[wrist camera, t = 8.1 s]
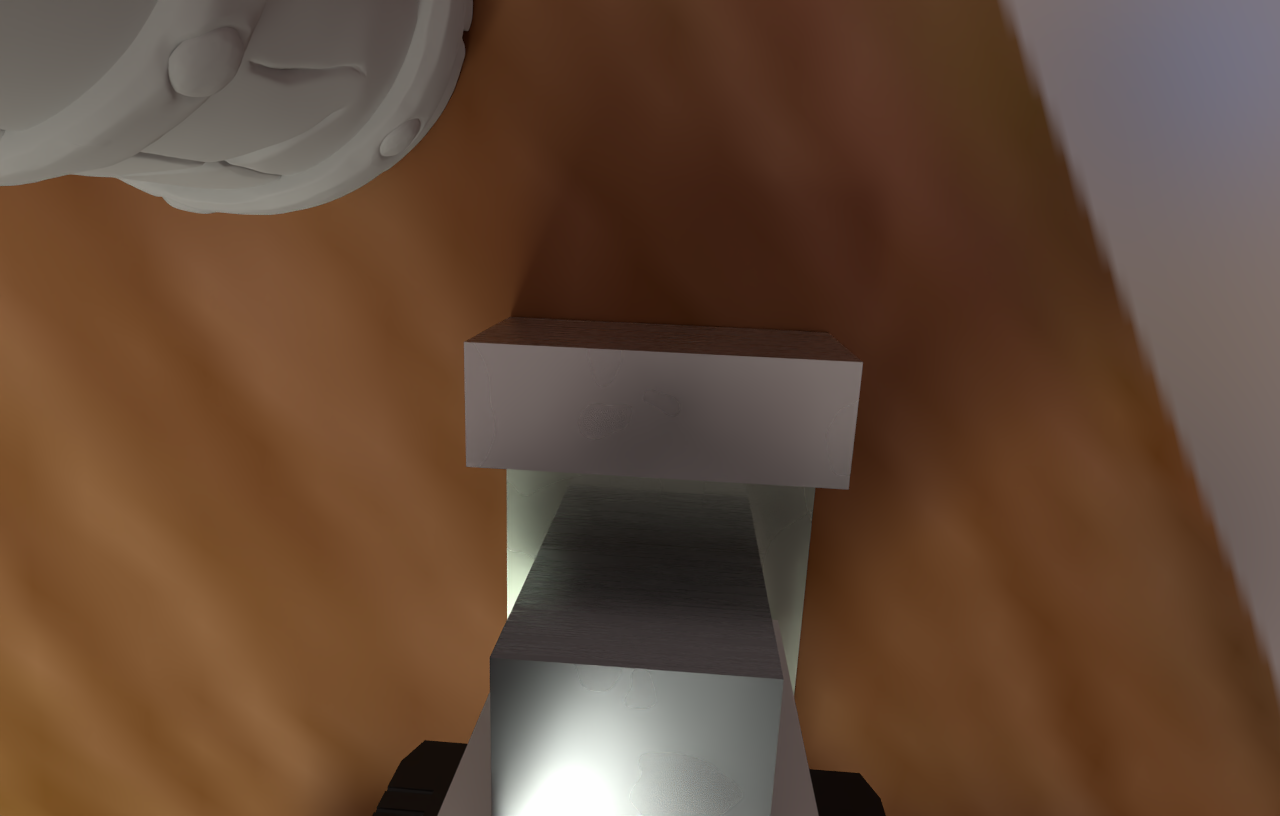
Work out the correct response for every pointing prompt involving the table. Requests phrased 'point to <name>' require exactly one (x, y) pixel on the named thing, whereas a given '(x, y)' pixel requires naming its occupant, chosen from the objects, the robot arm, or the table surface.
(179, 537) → the table surface
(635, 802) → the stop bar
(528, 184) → the table surface
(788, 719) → the robot arm
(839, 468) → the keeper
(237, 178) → the mug
